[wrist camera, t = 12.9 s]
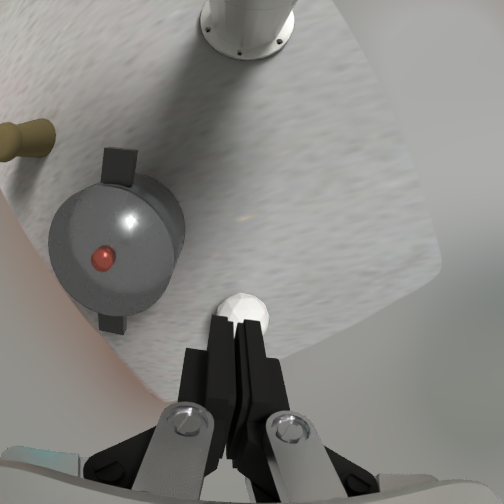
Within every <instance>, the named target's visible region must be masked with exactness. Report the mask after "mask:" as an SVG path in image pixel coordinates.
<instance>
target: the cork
mask: <svg viewBox="0 0 504 504" xmlns="http://www.w3.org/2000/svg"><path fill="white" fill-rule="evenodd" d="M55 138H56V134H55V129H54V126H53V124H52V123H51V122H50V121H49V120H46V119H37V120H33V121H29V122H25V123H22V124H18V125H15V124H13V123H11V122H7V123H2V124H0V162H8V161H10V160H12V159H14V158H15V157H16V156H19V157H43V156H46V155H47V154H48V153H49V152H50V151H51V150H52V148H53V146H54V143H55Z"/></svg>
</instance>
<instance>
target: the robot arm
mask: <svg viewBox="0 0 504 504" xmlns="http://www.w3.org/2000/svg"><path fill="white" fill-rule="evenodd" d="M296 2H297V0H207V1H206V2H205V4H204V6H203V9H202V11H201V17H200V23H201V29H202V32H203V34H204V37H205V39H206V40H207V41H208V43H209V44H210V45H211V46H212V47H213V48H214V49H215V50H216V51H218V52H220V53H221V54H223V55H225V56H228V57H230V58H234V59H239V60H257V59H262V58H265V57H268V56H270V55H272V54H274V53H276V52H277V51H279V50H280V49H281V48H282V47H283V46H284V45H285V44H286V43H287V42H288V40H289V39H290V37H291V35H292V33H293V29H294V25H295V19H294V13H293V8H294V6H295V4H296ZM207 30H210V32H207ZM277 42H280V45H279V44H277ZM238 53H241V55H240V56H239V55H238ZM225 445H226V456H227V459H232V463H233V468H237V469H238V471H239V472H240V473H242V474H243V475H244V476H246V477H245V483H246V487H247V491H248V494H249V498H250V502H251V503H231V502H215V501H202V500H199V499H200V495H201V490H202V486H203V481H204V477H205V476H207V475H208V474H210V473H211V472H213V471H214V470H216V469H217V466H218V462H219V459H222V456H223V453H224V448H225ZM0 504H503V503H502V501H501V500H500V498H499V497H498V495H497V494H496V493H495V492H494V491H493V490H492V489H491V488H490V487H489V486H488V485H486V484H484V483H481V482H478V481H472V480H461V479H455V480H454V479H453V480H441V481H439V480H438V479H437V478H435V477H434V476H432V475H426V474H380V473H379V474H378V475H377V476H373V475H372V474H371V473H369V472H368V471H366V470H365V469H363V468H361V467H359V466H358V465H356V464H354V463H352V462H351V461H349V460H347V459H345V458H344V457H342V456H340V455H338V454H337V453H335V452H334V451H332V450H330V449H329V448H327V447H325V446H324V445H323V443H322V441H321V439H320V437H319V435H318V433H317V431H316V429H315V427H314V425H313V423H312V422H311V421H310V420H309V419H308V418H307V417H306V416H304V415H302V414H300V413H297V412H293V411H290V408H289V403H288V398H287V394H286V389H285V385H284V381H283V375H282V371H281V366H280V362H279V360H278V359H276V358H266V353H265V347H264V341H263V335H262V329H261V323H260V321H256V320H248V319H244V321H243V323H240V322H238V323H237V327H236V332H235V337H234V323H233V322H232V321H228V317H225V316H218V315H212V319H211V326H210V332H209V339H208V345H207V351H205V350H198V349H191V348H186V351H185V357H184V364H183V370H182V376H181V383H180V389H179V396H178V402H177V403H174V404H171V405H169V406H168V407H167V408H165V409H164V411H163V412H162V414H161V416H160V419H159V421H158V424H157V426H155V427H153V428H151V429H149V430H147V431H145V432H142V433H140V434H138V435H136V436H134V437H132V438H130V439H128V440H125V441H123V442H121V443H119V444H117V445H115V446H112V447H110V448H108V449H105V450H103V451H101V452H98V453H96V454H94V455H93V456H91V457H89V458H85V457H84V458H83V457H79V454H74V453H65V452H56V451H49V450H42V449H35V448H29V447H24V446H12V447H9V448H7V449H6V450H5V451H4V452H3V453H2V454H1V457H0Z"/></svg>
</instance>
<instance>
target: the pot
mask: <svg viewBox="0 0 504 504" xmlns="http://www.w3.org/2000/svg"><path fill="white" fill-rule="evenodd" d="M137 153H138V150H134V149H125V148H114V147H106V148H104V156H103V165H102V175H101V182H100V183H97V184H95V185H93V186H91V187H94V186H100V185H112V186H117V187H122V188H125V189H128V190H130V191H132V192H134V193H136V194H138V195H139V196H141V197H142V198H144V199H145V200H146V201H148V202H149V203H150V204H151V205H152V206H153V207H154V208H155V209H156V211H157V212H158V213H159V214H160V216H161V217H162V219H163V220H164V222H165V224H166V226H167V228H168V230H169V233H170V236H171V239H172V243H173V249H174V265H173V270H174V267H175V265H176V262H177V259H178V257H179V254H180V251H181V249H182V246H183V243H184V237H185V222H184V217H183V213H182V210H181V208H180V206H179V203H178V201H177V200H176V198H175V197H174V195H173V194H172V193H171V192H170V191H169V190H168V189H167V188H166V187H165V186H164V185H163V184H161V183H160V182H158V181H157V180H155V179H153V178H151V177H148V176H145V175H141V174H135V168H136V160H137ZM89 188H90V187H89ZM86 189H87V188H86ZM172 273H173V271H172ZM98 316H99V330H101V331H106V332H111V333H115V334H120V335H124V333H125V331H126V316H110V315H104V314H101V313H98Z"/></svg>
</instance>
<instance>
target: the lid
mask: <svg viewBox="0 0 504 504" xmlns="http://www.w3.org/2000/svg"><path fill="white" fill-rule="evenodd" d="M48 247H49V255H50V260H51V264H52V267H53V270H54V272H55V274H56V276H57V278H58V280H59V281H60V283H61V284H62V286H63V287H64V288H65V290H66V291H67V292H68V293H69V294H70V295H71V296H72V297H73V298H74V299H75V300H76V301H78V302H79V303H80V304H82V305H83V306H85V307H87V308H89V309H90V310H93V311H95V312H98V313H101V314H104V315H110V316H128V315H133V314H136V313H139V312H141V311H144V310H145V309H147V308H149V307H150V306H152V305H153V304H154V303H155V302H156V301H157V300H158V299H159V298H160V297H161V296H162V294H163V293H164V291H165V289H166V287H167V285H168V283H169V281H170V278H171V275H172V271H173V265H174V249H173V243H172V239H171V236H170V233H169V230H168V228H167V226H166V224H165V222H164V220H163V219H162V217H161V216H160V214H159V213H158V212H157V211H156V209H155V208H154V207H153V206H152V205H151V204H150V203H149V202H148V201H146V200H145V199H144V198H142V197H141V196H139V195H138V194H136V193H134V192H132V191H130V190H128V189H125V188H122V187H117V186H112V185H100V186H94V187H90V188H87V189H84V190H82V191H80V192H78V193H76V194H74V195H73V196H71V197H70V198H69V199H67V200H66V201H65V202H64V203H63V204H62V206H61V207H60V208H59V209H58V211H57V213H56V214H55V216H54V219H53V221H52V224H51V227H50V232H49V241H48Z"/></svg>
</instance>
